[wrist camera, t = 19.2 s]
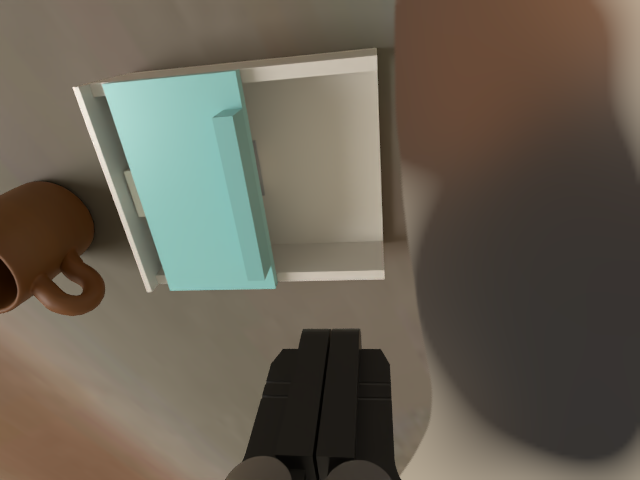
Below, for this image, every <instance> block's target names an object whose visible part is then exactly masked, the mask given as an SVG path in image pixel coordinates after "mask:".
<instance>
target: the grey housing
mask: <svg viewBox="0 0 640 480" xmlns="http://www.w3.org/2000/svg"><path fill="white" fill-rule="evenodd" d="M237 69H239V70H240V76H241V81H242V87H243V93H244V98H245V104H246V109H247V115H248V120H249V126H250V131H251V137H252V142H253V148H254V154H255V159H256V165H257V170H258V176H259V181H260V187H261V192H262V198H263V203H264V209H265V214H266V220H267V226H268V231H269V237H270V242H271V248H272V253H273V259H274V264H275V270H276V275H277V281H326V280H375V279H385V277H384V251H383V223H382V194H381V164H380V134H379V104H378V74H377V70H378V67H377V48H369V49H359V50H349V51H340V52H330V53H320V54H310V55H300V56H291V57H281V58H271V59H261V60H251V61H242V62H232V63H222V64H212V65H202V66H193V67H183V68H173V69H163V70H153V71H144V72H134V73H129V74H125V75H119V76H115V77H111V78H107V79H103V80H99V81H95V82H91V83H87V84H84V85H80V86H76V87H73V90H74V93H75V96H76V98H77V101H78V104H79V107H80V109H81V112H82V115H83V117H84V120H85V123H86V126H87V128H88V131H89V134H90V137H91V139H92V142H93V145H94V148H95V150H96V153H97V156H98V159H99V161H100V164H101V167H102V170H103V172H104V175H105V178H106V181H107V183H108V186H109V189H110V191H111V194H112V197H113V200H114V202H115V205H116V208H117V211H118V213H119V216H120V219H121V222H122V224H123V227H124V230H125V233H126V235H127V238H128V241H129V244H130V246H131V249H132V252H133V254H134V257H135V260H136V263H137V265H138V268H139V271H140V274H141V276H142V279H143V282H144V285H145V287H146V290H147V292H152V291H153V290H154V289H155V288H156V286H157V285H158V284H168V282H167V279H166V276H165V273H164V270H163V267H162V264H161V261H160V258H159V255H158V252H157V249H156V246H155V243H154V240H153V237H152V234H151V231H150V228H149V225H148V222H147V219H146V216H145V213H144V210H143V207H142V204H141V201H140V198H139V195H138V192H137V189H136V186H135V183H134V180H133V177H132V174H131V171H130V168H129V165H128V162H127V159H126V156H125V153H124V150H123V147H122V144H121V141H120V138H119V135H118V132H117V129H116V126H115V123H114V120H113V117H112V114H111V111H110V108H109V105H108V102H107V99H106V96H105V93H104V90H103V87H102V84H104V83H108V82H116V81H126V80H136V79H146V78H156V77H166V76H176V75H186V74H197V73H207V72H217V71H227V70H237Z"/></svg>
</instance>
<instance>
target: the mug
mask: <svg viewBox="0 0 640 480" xmlns="http://www.w3.org/2000/svg"><path fill="white" fill-rule="evenodd" d="M93 236H94V224H93V220H92V217H91V215H90V213H89V211H88V209H87V208H86V206H85V205H84V204H83V202H82V201H81V200H80V199H79V198H78V197H77V196H76V195H74V194H73V193H72V192H70V191H69V190H67V189H65V188H64V187H62V186H59V185H57V184H54V183H49V182H43V181H36V182H30V183H26V184H24V185H21V186H19V187H16V188H14V189H12V190H10V191H8V192H6V193H4V194H2V195H0V314H1V313H5V312H9V311H11V310H13V309H14V308H16V307H17V306H18V305H20V304H21V303H23V302H24V301H26V300H27V299H29V298H30V297H31V296H33V295H34V296H35V297H36V298H37V299H38V300H39V301H40V302H41V303H42V304H43V305H44V306H45V307H46V308H47V309H49V310H51V311H53V312H56V313H59V314H62V315H69V316H76V315H82V314H85V313H87V312H89V311H92V310H93V309H95V308H96V307H97V306H98V305H99V304H100V302H101V301H102V299H103V297H104V294H105V283H104V281H103V279H102V277H101V276H100V274H99V273H98V272H97V271H96V270H95V269H93V268H92V267H90V266H89V265H87V264H85V263H84V262H83V260H82V259H81V258H80V255H81V254H83V253H84V252H85V251H86V250H87V248H88V247H89V246H90V244H91V242H92V240H93ZM60 272H62V273H63V274H64V275H65V276H66V277H67V278H68V279H69V280H71V281H73V282H75V283H77V284H79V285H80V286H81V287H82V288H83V292H82V294H81V295H78V296H74V295H69V294H66V293H65V292H63V291H62V290H61V289H60V288H59V287H58V286H57V285H56V284H55V283H54V282H53V281H52V279H53V278H54V277H55V276H57V275H58V274H59V273H60Z"/></svg>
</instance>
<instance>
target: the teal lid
mask: <svg viewBox="0 0 640 480" xmlns="http://www.w3.org/2000/svg"><path fill="white" fill-rule="evenodd" d="M102 87H103V90H104V93H105V96H106V99H107V102H108V105H109V108H110V111H111V114H112V117H113V120H114V123H115V126H116V129H117V132H118V135H119V138H120V141H121V144H122V147H123V150H124V153H125V156H126V159H127V162H128V165H129V168H130V171H131V174H132V177H133V180H134V183H135V186H136V189H137V192H138V195H139V198H140V201H141V204H142V207H143V210H144V213H145V216H146V219H147V222H148V225H149V228H150V231H151V234H152V237H153V240H154V243H155V246H156V249H157V252H158V255H159V258H160V261H161V264H162V267H163V270H164V273H165V276H166V279H167V282H168V285H169V288H170V291H176V290H232V289H276V286H277V283H278V281H277V275H276V270H275V264H274V259H273V253H272V248H271V242H270V237H269V231H268V226H267V220H266V214H265V209H264V203H263V198H262V192H261V187H260V181H259V176H258V170H257V165H256V159H255V154H254V148H253V142H252V137H251V131H250V126H249V120H248V115H247V109H246V104H245V98H244V93H243V87H242V81H241V76H240V70H239V69H237V70H227V71H217V72H207V73H197V74H186V75H176V76H166V77H156V78H146V79H136V80H126V81H116V82H108V83H104V84H102Z"/></svg>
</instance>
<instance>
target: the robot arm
mask: <svg viewBox="0 0 640 480" xmlns="http://www.w3.org/2000/svg"><path fill="white" fill-rule="evenodd" d="M266 381H267V383H266V384H265V387H264V391H263V394H262V399H261V401H260V405H259V408H258V412H257V415H256V419H255V422H254V426H253V429H252V433H251V436H250V440H249V443H248V447H247V450H246V454H245V456H244V459H243V461H242V462H241V463H240V464H238V465H237V466H236V467H235V468H234V469H233V470H232V471H231V472H230V473H229V474H228V476H227V477H226V479H225V480H401V479H400V477H399V475H398V472H397V469H396V466H395V460H394V441H393V420H392V400H391V379H390V364H389V362H388V361H387V359H386V357H385V356H384V354H383V352H382V351H381V349H362V345H361V331H360V329H332V331H331V329H303V331H302V334H301V339H300V343H299V348H298V349H283V350H282V351H281V352H280V354H279V355H278V356H277V357H276V358H275V360H274V361H273V362H272V363H271V366H270V370H269V373H268V377H267V380H266Z"/></svg>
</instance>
